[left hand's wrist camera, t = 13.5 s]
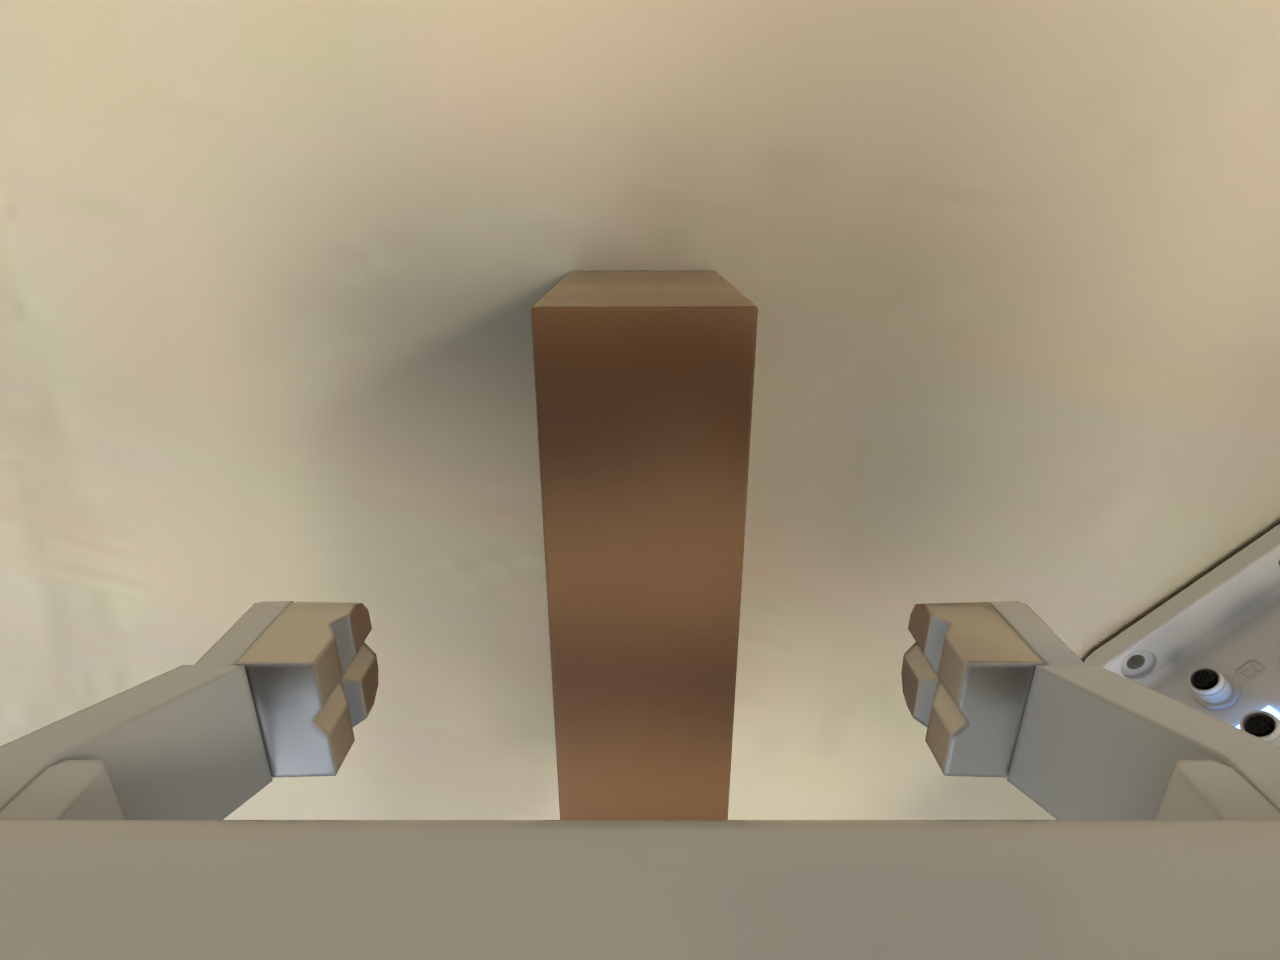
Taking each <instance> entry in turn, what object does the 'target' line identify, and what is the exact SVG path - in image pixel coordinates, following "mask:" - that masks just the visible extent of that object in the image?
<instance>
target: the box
mask: <svg viewBox="0 0 1280 960" xmlns="http://www.w3.org/2000/svg"><path fill="white" fill-rule="evenodd" d="M757 315H758V309H757V307H756V306H755V305H754V304H753V303H752V302H750V301H749V300H748V299H747V298H746V297H745V296H743V295H742V294H741V293H740V292H739V291H738V290H736V289H735V288H734V287H733V286H732V285H731V284H730V283H728V282H727V281H726V280H725V279H724V278H723V277H721V276H720V275H719V274H718V273H717V272H716V271H571V272H570V273H568V274H567V275H566V276H565V277H564V278H563V279H562V280H561V281H560V282H559V283H558V284H557V285H555V286H554V287H553V288H552V289H551V290H550V291H549V292H548V293H547V294H546V295H545V296H544V297H542V298H541V299H540V300H539V301H538V302H537V303H536V304H535V305H534V306H533V307H532V308H531V321H532V338H533V356H534V373H535V390H536V408H537V425H538V442H539V460H540V477H541V494H542V512H543V529H544V546H545V564H546V581H547V598H548V616H549V633H550V650H551V668H552V685H553V702H554V720H555V737H556V754H557V772H558V789H559V806H560V820H728V804H729V787H730V770H731V753H732V737H733V720H734V703H735V686H736V669H737V652H738V635H739V619H740V602H741V585H742V568H743V551H744V534H745V518H746V501H747V484H748V467H749V450H750V433H751V416H752V400H753V383H754V366H755V349H756V332H757Z"/></svg>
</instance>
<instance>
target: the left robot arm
mask: <svg viewBox="0 0 1280 960" xmlns="http://www.w3.org/2000/svg"><path fill="white" fill-rule="evenodd" d="M371 629H372V627H371V622H370V618H369V613H368V609H367V608H366V607H365V606H364V605H363V604H362V603H332V602H292V601H280V602H260V603H255V604H254V605H253V606H252V607H251V608H250V609H249V610H248V611H247V612H246V613H245V614H244V615H243V616H242V617H241V618H240V619H239V620H238V621H237V622H236V623H235V624H234V625H233V626H232V627H231V628H230V629H229V630H228V631H227V632H226V633H225V634H224V635H223V636H222V637H221V638H220V639H219V640H218V641H217V642H216V643H215V644H214V645H213V646H212V647H211V648H210V649H209V650H208V651H207V652H206V653H205V654H204V655H203V656H202V657H201V658H200V659H199V660H198V662H197V663H196V664H195V665H182V666H180V667H177V668H175V669H173V670H171V671H169V672H166V673H164V674H162V675H160V676H157V677H155V678H153V679H151V680H148V681H146V682H144V683H142V684H139V685H137V686H135V687H133V688H131V689H128V690H126V691H124V692H122V693H119V694H117V695H115V696H113V697H110V698H108V699H106V700H104V701H101V702H99V703H97V704H95V705H93V706H90V707H88V708H86V709H84V710H81V711H79V712H77V713H75V714H72V715H70V716H68V717H66V718H63V719H61V720H59V721H57V722H55V723H52V724H50V725H48V726H46V727H43V728H41V729H39V730H37V731H34V732H32V733H30V734H28V735H25V736H23V737H21V738H19V739H17V740H14V741H12V742H10V743H8V744H5V745H3V746H1V747H0V960H1280V524H1279V525H1277V526H1276V527H1274V528H1273V529H1271V530H1270V531H1268V532H1267V533H1266V534H1264V535H1263V536H1261V537H1260V538H1258V539H1257V540H1255V541H1254V542H1252V543H1251V544H1249V545H1248V546H1247V547H1245V548H1244V549H1242V550H1241V551H1239V552H1238V553H1236V554H1235V555H1233V556H1232V557H1231V558H1229V559H1228V560H1226V561H1225V562H1223V563H1222V564H1220V565H1219V566H1217V567H1216V568H1215V569H1213V570H1212V571H1210V572H1209V573H1207V574H1206V575H1204V576H1203V577H1201V578H1200V579H1199V580H1197V581H1196V582H1194V583H1193V584H1191V585H1190V586H1188V587H1187V588H1185V589H1184V590H1182V591H1181V592H1180V593H1178V594H1177V595H1175V596H1174V597H1172V598H1171V599H1169V600H1168V601H1166V602H1165V603H1164V604H1162V605H1161V606H1159V607H1158V608H1156V609H1155V610H1153V611H1152V612H1150V613H1149V614H1148V615H1146V616H1145V617H1143V618H1142V619H1140V620H1139V621H1137V622H1136V623H1134V624H1133V625H1132V626H1130V627H1129V628H1127V629H1126V630H1124V631H1123V632H1121V633H1120V634H1118V635H1117V636H1115V637H1114V638H1113V639H1111V640H1110V641H1108V642H1107V643H1105V644H1104V645H1102V646H1101V647H1099V648H1098V649H1097V650H1095V651H1094V652H1093V653H1091V654H1090V655H1089V656H1088V657H1087V658H1086V660H1085V661H1084V662H1083V661H1082V660H1081V659H1080V658H1079V657H1078V656H1077V655H1076V654H1075V653H1074V652H1073V651H1072V650H1071V649H1070V648H1069V647H1068V646H1067V645H1066V644H1065V643H1064V642H1063V641H1062V640H1061V639H1060V638H1059V637H1058V636H1057V635H1056V634H1055V633H1054V632H1053V631H1052V630H1051V629H1050V628H1049V627H1048V626H1047V625H1046V624H1045V623H1044V622H1043V621H1042V620H1041V619H1040V618H1039V617H1038V616H1037V615H1036V614H1035V613H1034V612H1033V611H1032V610H1031V609H1030V608H1029V607H1028V605H1027V604H1024V603H1021V602H1019V601H1005V602H977V603H937V604H915V606H914V608H913V611H912V613H911V616H910V622H909V627H908V629H909V631H910V633H911V634H912V636H913V637H914V639H915V641H916V643H915V644H914V645H913V646H912V647H911V648H910V649H909V650H908V651H907V652H906V653H905V654H904V658H903V666H902V685H903V693H904V697H905V700H906V704H907V706H908V708H909V710H910V712H911V714H912V716H913V718H914V719H916V720H917V721H919V722H920V723H922V724H923V725H925V726H926V727H928V729H927V734H926V740H925V741H926V742H927V744H928V746H929V748H930V750H931V752H932V753H933V755H934V757H935V759H936V761H937V763H938V764H939V766H940V768H941V770H942V772H943V774H944V775H945V776H977V777H1008V779H1007V780H1008V781H1009V782H1010V783H1012V784H1013V785H1014V786H1015V787H1017V788H1018V789H1019V790H1020V791H1022V792H1023V793H1024V794H1025V795H1027V796H1028V797H1029V798H1031V799H1032V800H1033V801H1034V802H1036V803H1037V804H1038V805H1039V806H1041V807H1042V808H1043V809H1045V810H1046V811H1047V812H1048V813H1050V814H1051V815H1052V816H1053V817H1055V818H1056V819H1057V820H223V819H224V818H226V817H227V816H228V815H229V814H231V813H232V812H233V811H234V810H236V809H237V808H238V807H240V806H241V805H242V804H243V803H245V802H246V801H247V800H248V799H250V798H251V797H252V796H254V795H255V794H256V793H257V792H259V791H260V790H261V789H262V788H264V787H265V786H266V785H268V784H269V783H270V782H271V781H272V780H273V779H272V777H302V776H336V774H337V772H338V770H339V768H340V766H341V765H342V763H343V761H344V759H345V757H346V755H347V753H348V752H349V750H350V748H351V746H352V744H353V742H354V741H355V740H354V734H353V728H352V727H354V726H355V725H357V724H358V723H360V722H361V721H363V720H364V719H366V718H367V716H368V714H369V712H370V710H371V708H372V706H373V704H374V700H375V696H376V691H377V687H378V664H377V657H376V654H375V653H374V652H373V651H372V650H371V649H370V648H369V647H368V646H367V645H366V644H365V643H364V641H365V639H366V637H367V636H368V634H369V633H370V631H371ZM1132 656H1133V657H1132ZM1131 657H1132V658H1131ZM1129 658H1131V659H1129Z"/></svg>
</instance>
